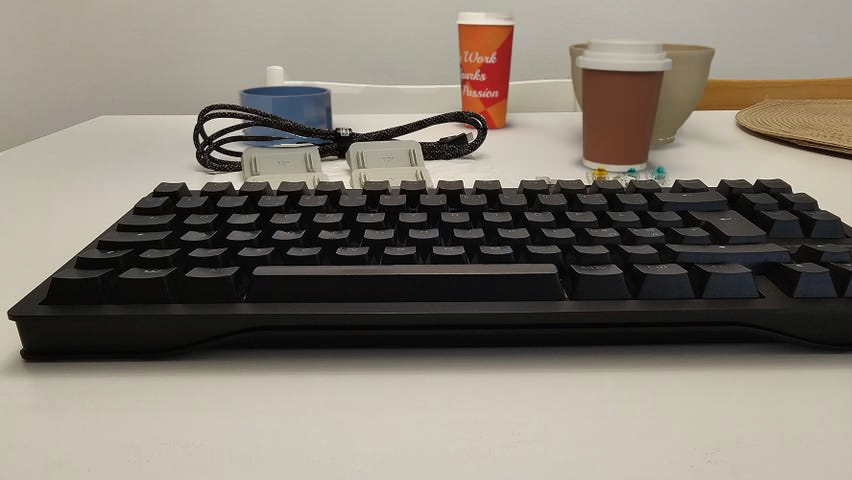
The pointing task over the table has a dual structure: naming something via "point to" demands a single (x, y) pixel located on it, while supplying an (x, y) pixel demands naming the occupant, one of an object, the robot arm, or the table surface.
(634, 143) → the coffee cup
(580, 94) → the planter bowl
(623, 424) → the table surface
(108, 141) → the table surface
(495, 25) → the paper cup
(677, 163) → the table surface
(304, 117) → the blue bowl
